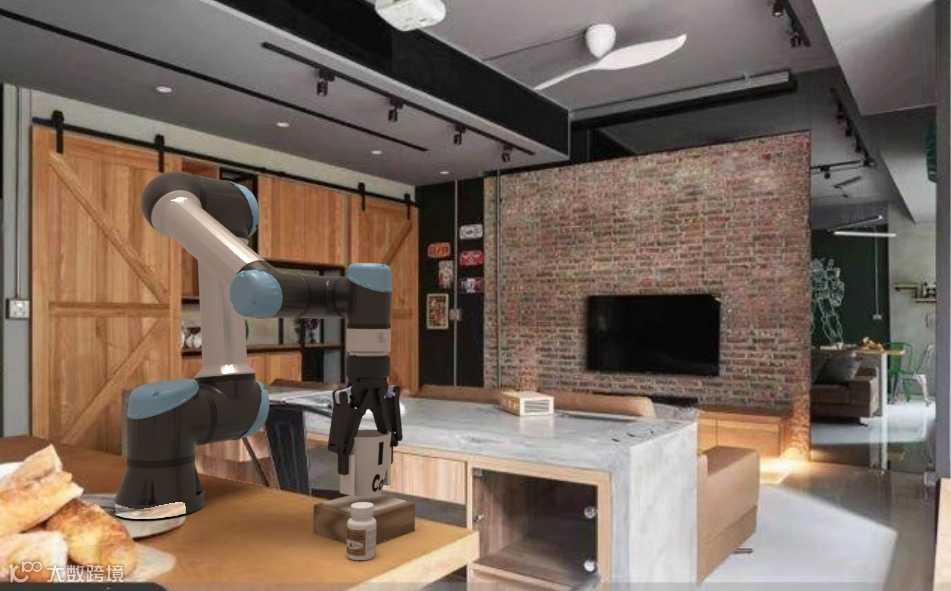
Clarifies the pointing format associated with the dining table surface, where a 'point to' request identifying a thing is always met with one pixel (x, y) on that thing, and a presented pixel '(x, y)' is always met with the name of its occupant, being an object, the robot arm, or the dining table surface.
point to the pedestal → (387, 512)
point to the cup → (370, 461)
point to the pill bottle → (361, 532)
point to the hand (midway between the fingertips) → (365, 488)
